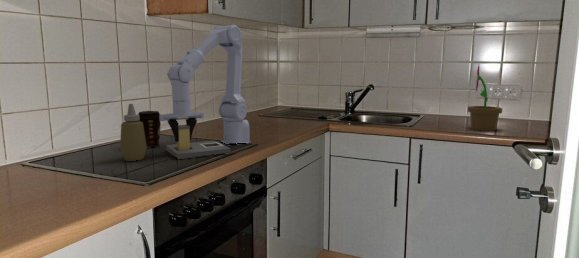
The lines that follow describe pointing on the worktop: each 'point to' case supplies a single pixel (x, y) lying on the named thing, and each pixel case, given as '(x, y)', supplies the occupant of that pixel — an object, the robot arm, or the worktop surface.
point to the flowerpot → (483, 112)
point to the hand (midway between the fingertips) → (183, 140)
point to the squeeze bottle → (132, 136)
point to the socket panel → (198, 149)
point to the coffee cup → (151, 127)
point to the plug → (183, 137)
